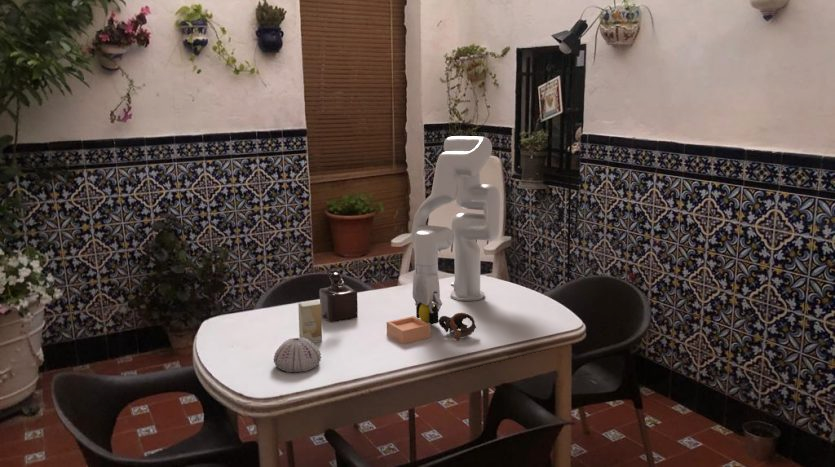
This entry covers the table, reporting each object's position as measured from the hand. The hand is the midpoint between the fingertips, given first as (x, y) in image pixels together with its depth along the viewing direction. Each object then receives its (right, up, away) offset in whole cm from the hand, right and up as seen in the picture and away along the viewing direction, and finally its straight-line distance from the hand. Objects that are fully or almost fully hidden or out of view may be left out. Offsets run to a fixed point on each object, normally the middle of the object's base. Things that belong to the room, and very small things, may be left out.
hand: (427, 319), depth 225 cm
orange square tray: (-6, -4, -10) cm, 13 cm away
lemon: (0, -2, 0) cm, 2 cm away
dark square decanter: (-29, -1, +8) cm, 30 cm away
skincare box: (-36, -5, -13) cm, 39 cm away
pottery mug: (+9, -4, -10) cm, 14 cm away
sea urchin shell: (-37, -9, -32) cm, 50 cm away
